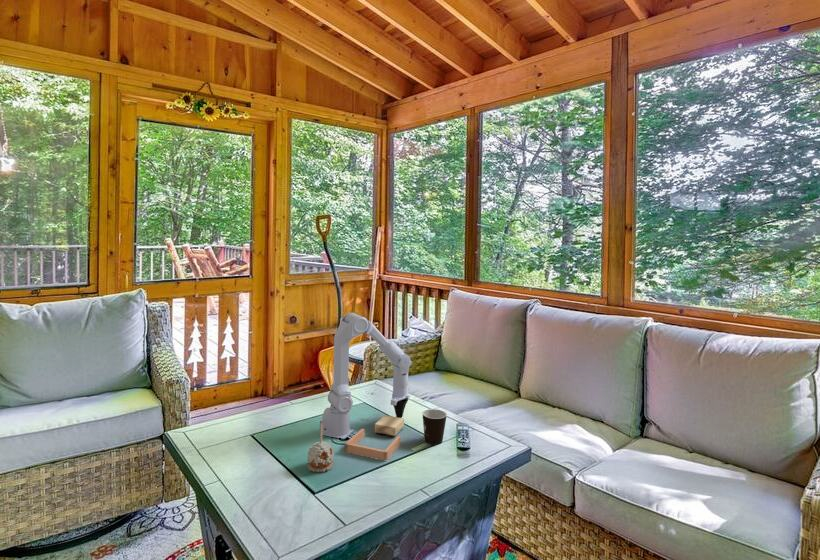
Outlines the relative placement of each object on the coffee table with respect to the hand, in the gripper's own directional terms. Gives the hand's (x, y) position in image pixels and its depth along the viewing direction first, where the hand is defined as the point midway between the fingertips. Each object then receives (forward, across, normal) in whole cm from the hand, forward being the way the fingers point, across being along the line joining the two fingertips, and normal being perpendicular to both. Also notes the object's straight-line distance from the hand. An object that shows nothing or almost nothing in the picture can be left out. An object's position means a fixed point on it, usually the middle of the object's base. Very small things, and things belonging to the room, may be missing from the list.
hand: (399, 417), depth 180 cm
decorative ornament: (+2, -42, +10) cm, 43 cm away
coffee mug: (+2, -9, -17) cm, 19 cm away
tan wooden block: (+2, -10, 0) cm, 10 cm away
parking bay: (+2, -24, 0) cm, 24 cm away
